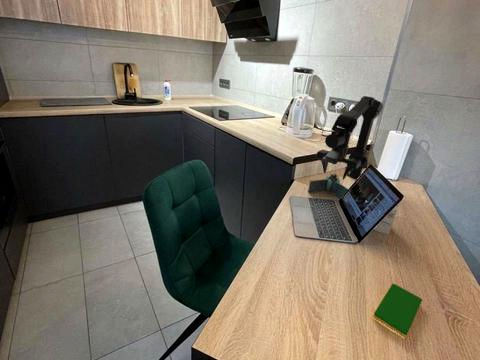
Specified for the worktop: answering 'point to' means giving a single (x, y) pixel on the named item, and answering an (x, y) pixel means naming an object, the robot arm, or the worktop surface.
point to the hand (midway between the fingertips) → (333, 176)
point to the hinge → (327, 186)
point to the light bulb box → (386, 222)
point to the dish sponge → (398, 309)
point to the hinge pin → (333, 177)
